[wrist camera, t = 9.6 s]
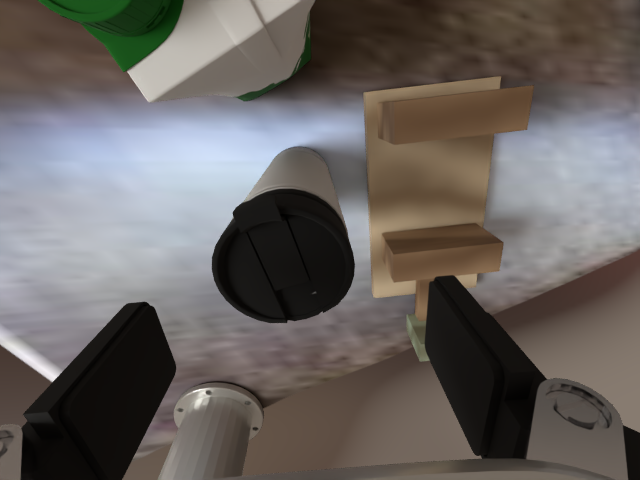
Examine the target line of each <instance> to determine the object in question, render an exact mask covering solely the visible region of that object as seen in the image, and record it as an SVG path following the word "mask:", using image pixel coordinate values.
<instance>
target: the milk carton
mask: <svg viewBox="0 0 640 480" xmlns="http://www.w3.org/2000/svg"><path fill="white" fill-rule="evenodd" d="M38 1H39V2H41V3H42V4H43V5H45V6H46V7H48V8H49V9H50V10H52V11H54V12H56V13H58V14H60V16H62V17H65V18H68V19H70V20H73V21H75V22H78V23H81V24H82V25H83V26H84V28H85V29H86V30H87V31H89V32H90V33H91V34H92V35H93V36H94V37H95V38H97V39H98V40H99V41H100V42H102V43H103V44H104V45H105V47H106V48H107V49H108V51H109V52H110V54H111V55H112V57H113V58H114V59H115V61H116V62H117V64H118V65H119V66H120V68H121V69H122V71H123V72H125V71H127V72H128V73H129V75H130V76H131V78H132V79H133V81H134V82H135V84H136V85H137V86H138V88H139V89H140V91H141V92H142V94H143V95H144V96H145V98H146V99H147V100H148V102H150V103H151V102H159V101H167V100H174V99H182V98H189V97H198V96H206V95H222V96H229V97H236V98H239V99H241V100H243V101H248V100H252V99H254V98H257V97H259V96H261V95H262V94H264V93H266V92H268V91H269V90H271V89H273V88H274V87H276V86H278V85H279V84H281V83H283V82H284V81H286V80H287V79H289V78H290V77H292V76H293V75H294V74H295V73H296V72H297V71H298V70H299V69H300V68H302V67H303V66H304V65H305V64H306V63H307V62H308V61H309V60H311V39H310V9H311V7H312V6H313V4H314V2H315V0H38Z"/></svg>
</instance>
